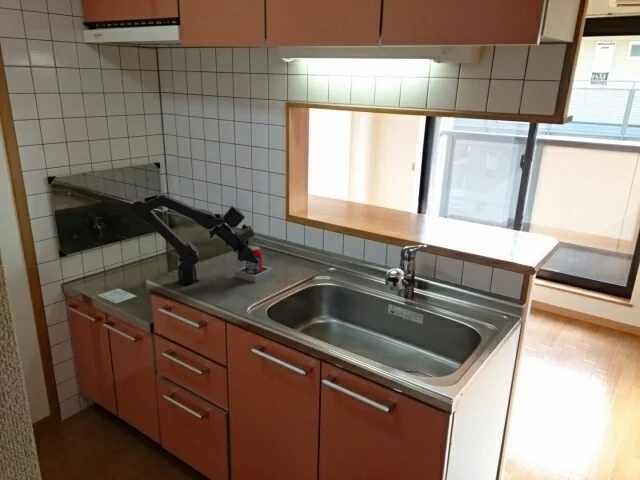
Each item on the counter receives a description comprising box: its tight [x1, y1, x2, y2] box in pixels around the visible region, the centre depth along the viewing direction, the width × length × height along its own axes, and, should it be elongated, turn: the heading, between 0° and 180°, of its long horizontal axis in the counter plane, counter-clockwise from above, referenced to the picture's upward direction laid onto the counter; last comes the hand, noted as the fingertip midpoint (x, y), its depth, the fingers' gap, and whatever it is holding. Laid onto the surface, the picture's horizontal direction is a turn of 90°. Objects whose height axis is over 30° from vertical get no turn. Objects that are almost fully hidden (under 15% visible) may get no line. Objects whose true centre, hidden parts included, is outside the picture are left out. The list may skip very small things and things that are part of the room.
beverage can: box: [244, 244, 263, 275], centre depth 200 cm, size 7×7×12 cm
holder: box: [234, 265, 274, 284], centre depth 202 cm, size 11×11×2 cm
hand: (257, 259), depth 201 cm, fingers open, 7 cm apart
